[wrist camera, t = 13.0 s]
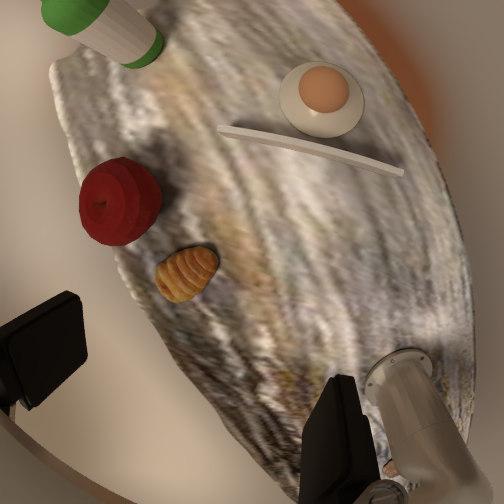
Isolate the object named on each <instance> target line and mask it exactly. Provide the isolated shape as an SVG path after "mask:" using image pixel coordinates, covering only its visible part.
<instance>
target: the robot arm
mask: <svg viewBox="0 0 504 504" xmlns="http://www.w3.org/2000/svg"><path fill="white" fill-rule="evenodd" d="M87 357H88V353H87V346H86V338H85V329H84V319H83V307H82V302H81V301H80V297H79V296H78V295H76V294H74V293H72V292H69V291H67V290H66V291H64V292H62V293H60V294H58V295H56V296H54V297H52V298H51V299H49V300H47V301H45V302H43V303H42V304H40V305H38V306H36V307H34V308H33V309H31V310H29V311H27V312H26V313H24V314H22V315H20V316H18V317H17V318H15V319H13V320H12V321H10V322H8V323H6V324H5V325H3V326H1V327H0V504H137V503H134V502H132V501H130V500H128V499H126V498H124V497H122V496H120V495H118V494H115V493H114V492H112V491H109V490H108V489H106V488H104V487H103V486H101V485H99V484H97V483H95V482H94V481H92V480H90V479H88V478H87V477H85V476H84V475H82V474H80V473H79V472H77V471H76V470H74V469H73V468H71V467H70V466H68V465H67V464H65V463H64V462H62V461H61V460H59V459H58V458H57V457H55V456H54V455H53V454H51V453H50V452H49V451H47V450H46V449H45V448H44V447H42V446H41V445H40V444H38V443H37V442H36V441H35V440H33V439H32V438H31V437H30V436H29V435H28V434H26V433H25V432H24V431H23V430H22V429H21V428H20V427H19V426H17V425H16V424H15V411H16V410H15V409H16V401H18V400H19V401H20V404H21V405H22V406H24V407H25V408H26V409H27V410H28V411H30V410H31V409H32V408H33V407H37V406H38V405H40V404H41V403H42V402H43V401H44V400H45V399H46V398H47V397H48V396H49V395H50V394H51V393H52V392H53V391H54V390H55V389H56V388H58V387H59V386H60V385H61V384H62V383H63V382H64V381H65V380H66V379H67V378H68V377H69V376H71V374H73V373H74V372H75V371H76V370H77V369H78V368H79V367H80V366H81V365H83V364H84V362H85V361H86V360H87ZM432 370H433V368H432V363H431V360H430V358H429V357H428V356H427V355H426V354H425V353H424V352H422V351H421V350H417V349H405V350H400V351H397V352H394V353H392V354H390V355H388V356H387V357H385V358H384V359H382V360H381V361H380V362H378V363H377V364H376V365H375V366H374V367H373V368H372V370H371V371H370V373H369V374H368V376H367V378H366V380H365V384H364V391H365V395H366V398H367V400H368V401H369V402H370V403H371V404H373V405H374V406H377V407H379V410H380V414H381V417H382V421H383V424H384V428H385V432H386V436H387V439H388V443H389V447H390V451H391V455H392V460H393V464H394V467H395V469H396V471H397V472H398V474H399V475H400V476H402V477H403V478H405V479H407V480H409V481H412V482H415V483H419V484H420V486H419V487H418V488H416V489H415V490H413V491H411V492H409V493H407V491H406V490H405V488H404V487H403V486H402V485H401V484H399V483H398V482H396V481H393V480H388V479H383V480H381V478H380V473H379V467H378V462H377V457H376V452H375V447H374V442H373V437H372V433H371V428H370V424H369V420H368V417H367V416H366V415H363V414H362V409H361V405H360V400H359V396H358V392H357V387H356V383H355V379H354V377H353V376H347V375H340V374H337V375H336V376H335V377H334V378H332V377H330V378H329V380H328V382H327V384H326V386H325V388H324V390H323V392H322V394H321V396H320V398H319V400H318V402H317V404H316V406H315V407H314V409H313V411H312V413H311V415H310V417H309V419H308V420H307V422H306V424H305V426H304V428H303V432H302V450H301V472H300V489H299V503H298V504H492V501H493V490H492V487H491V484H490V482H489V480H488V478H487V477H486V475H485V474H484V472H483V471H482V470H481V468H480V467H479V466H478V464H477V463H476V461H475V460H474V458H473V456H472V455H471V453H470V452H469V450H468V448H467V446H466V444H465V442H464V440H463V438H462V437H461V435H460V433H459V431H458V429H457V427H456V425H455V423H454V421H453V419H452V417H451V415H450V413H449V411H448V409H447V407H446V405H445V403H444V401H443V400H442V398H441V396H440V394H439V392H438V391H437V389H436V387H435V385H434V383H433V382H432V380H431V375H432Z"/></svg>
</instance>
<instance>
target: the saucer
mask: <svg viewBox="0 0 504 504" xmlns="http://www.w3.org/2000/svg"><path fill="white" fill-rule="evenodd" d="M317 66H327V67H331V68H333V69H335V70H337V71H338V72H340V73H341V74H342V75H343V76H344V78H345V79H346V81H347V83H348V86H349V97H348V100H347V102H346V103H345V105H344V106H343V107H342V108H341V109H339V110H338V111H335V112H332V113H319V112H316V111H314V110H312V109H310V108H309V107H307V106H306V105H305V104H304V102H303V101H302V99H301V97H300V95H299V90H298V86H299V81H300V79H301V77H302V75H303V74H304V73H305V72H306V71H308V70H309V69H311V68H313V67H317ZM279 100H280V105H281V109H282V111H283V113H284V115H285V117H286V118H287V120H288V121H289V122H290V123H291V124H292V125H293V126H294V127H295V128H296V129H298V130H299V131H301V132H303V133H305V134H307V135H310V136H313V137H317V138H334V137H338V136H341V135H343V134H345V133H347V132H349V131H350V130H351V129H352V128H354V126H355V125H356V124H357V123H358V121H359V120H360V118H361V116H362V113H363V108H364V99H363V94H362V91H361V89H360V87H359V85H358V83H357V82H356V80H355V79H354V78H353V77H352V76H351V75H350V74H349V73H348V72H346V71H345V70H343V69H342V68H340V67H338V66H336V65H333V64H330V63H326V62H309V63H305V64H302V65H299V66H297V67H296V68H294V69H293V70H291V71H290V72H289V73H288V74H287V75H286V77H285V78H284V80H283V81H282V84H281V86H280V91H279Z"/></svg>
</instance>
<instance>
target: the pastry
mask: <svg viewBox="0 0 504 504" xmlns="http://www.w3.org/2000/svg"><path fill="white" fill-rule="evenodd" d="M217 266H218V258H217V256H216V255H215V253H214V252H212V251H211V250H209V249H207V248H204V247H202V246H197V247H194V248H187V249H184V250H182V251H180V252H175V253H173V254H172V255H171V256H170V257H169V258H168V259H166V260H165V261H163V262H161V263H160V265H157V266H156V268H155V283H156V285H157V287H158V289H159V291H160V292H161V294H162V295H163V296H165V297H166V298H167V299H168V300H170V301H172V302H175V303H180V302H182V301H186V300H190V299H192V298H193V297H194V296H195V295H197V294H198V293H200V292H201V291H202V290H203V288H204V287H205V286H206V284H207V283H208V282H209V280H210V279H211V278H212V277H213V275H214V274H215V272H216V269H217Z"/></svg>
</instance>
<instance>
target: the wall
mask: <svg viewBox="0 0 504 504" xmlns="http://www.w3.org/2000/svg"><path fill="white" fill-rule="evenodd" d="M217 131H218V132H219V133H221V134H222V135H224V136H225V137H227V138H233V139H239V140H245V141H251V142H256V143H262V144H267V145H272V146H277V147H282V148H286V149H291V150H295V151H300V152H304V153H308V154H312V155H316V156H320V157H324V158H328V159H332V160H335V161H339V162H343V163H346V164H350V165H353V166H356V167H360V168H363V169H366V170H369V171H373V172H376V173H379V174H382V175H385V176H388V177H403V174H404V170H403V169H400V168H397V167H394V166H392V165H389V164H386V163H383V162H380V161H377V160H374V159H371V158H367V157H364V156H361V155H358V154H354V153H351V152H348V151H344V150H340V149H337V148H333V147H329V146H326V145H322V144H318V143H314V142H310V141H305V140H301V139H297V138H292V137H287V136H283V135H278V134H273V133H267V132H262V131H256V130H251V129H245V128H238V127H232V126H225V125H218V130H217Z"/></svg>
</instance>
